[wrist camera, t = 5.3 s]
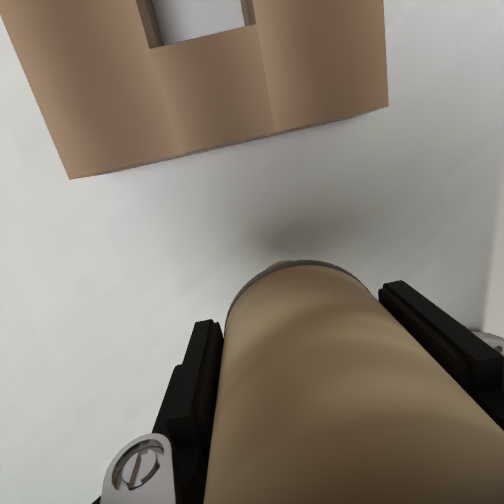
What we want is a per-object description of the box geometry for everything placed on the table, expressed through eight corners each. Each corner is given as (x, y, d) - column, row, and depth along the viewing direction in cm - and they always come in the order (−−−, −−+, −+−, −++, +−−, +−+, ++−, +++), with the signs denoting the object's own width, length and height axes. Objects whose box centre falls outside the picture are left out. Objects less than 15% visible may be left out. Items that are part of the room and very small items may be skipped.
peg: (337, 222, 13) (573, 377, 4) (351, 328, 14) (537, 620, 5) (217, 248, 13) (148, 454, 4) (244, 349, 14) (241, 664, 5)
